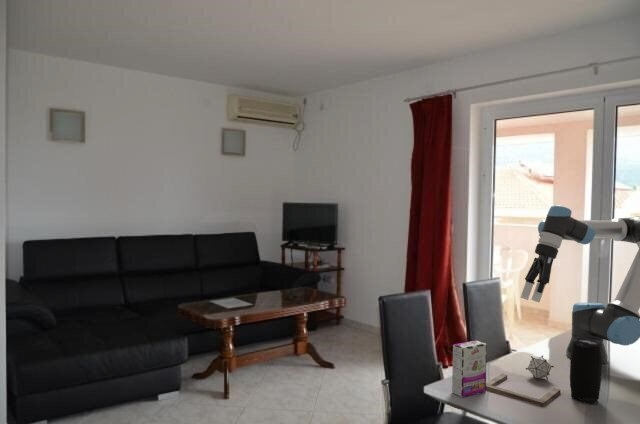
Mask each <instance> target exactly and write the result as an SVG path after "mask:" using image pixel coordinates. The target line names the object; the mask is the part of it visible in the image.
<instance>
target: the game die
mask: <svg viewBox="0 0 640 424" xmlns="http://www.w3.org/2000/svg"><path fill="white" fill-rule="evenodd" d="M530 358H531V359H530V361H529V365H528V366H527V367H525V370H528V371H529V372H530V373H531V374H532V376H533V377H535V378H536V379H535V380H536V381H538V380H539V379H545V378H546V379H547V380H549V378H548V376H551V374H550V372H551V370H552V368H554V367H555V366H554V365H551V364H550V363H549V362H548V361H547V359H545V358H544V355H543V354H542V355H541V356H540V357H533V356H530Z"/></svg>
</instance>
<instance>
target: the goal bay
mask: <svg viewBox="0 0 640 424" xmlns="http://www.w3.org/2000/svg"><path fill="white" fill-rule="evenodd" d="M507 379H508V375H507V374H504V373H501V374H499V375H497V376H496V377H494V378H492V379H490V380H488V381H486V391H490V392H492V393H497V394H499V395H503V396H507V397H509V398H513V399H516V400H519V401H522V402H526V403H529V404H532V405H535V406H539V407H545V406H546V405H547V404H549V403H550V402H551V401H553V400H554V399H555V398H556V397H558V396H559V395H560V394H561V389H559V388H556V387H554V388H552V389H551V390H549V391H548V392H547V393H545V394H544V395H543V396H541V397H540V398H536V397H532V396H529V395H525V394H522V393H519V392H515V391H512V390H508V389H505V388H502V387H498V386H497V385H499V384H500V383H502V382H504V381H505V380H507Z"/></svg>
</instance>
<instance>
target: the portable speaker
mask: <svg viewBox="0 0 640 424" xmlns="http://www.w3.org/2000/svg"><path fill="white" fill-rule="evenodd" d="M600 345H601V343H600V341H599V340H591V339H587V338H585V337H575V338H574V341H573V345H572V351H571V358H570V364H569V387H570V392H571V393H570V394H571V395H570V397H571V399H578V400H580V401H581V402H582V404H583V403H584V404H586V405H594V404H595V405H596V403H597V402H598V400H599V399H600V394H601V393H600V392H601V385H602V372H603V371H602V368H603V367H602V366H603V364H602V356H601V348H600Z"/></svg>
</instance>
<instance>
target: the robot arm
mask: <svg viewBox="0 0 640 424" xmlns="http://www.w3.org/2000/svg"><path fill="white" fill-rule="evenodd" d="M572 213H573V212H572V210H571V209H570V208H569V207H566V206H564V205H563V206H562V205H558V204H555V205H551V206H550V207H549V210H548V213H547V214H546V217H545V219H543V220H541V221H540V222H539V223H538V226H537V231H538V233H539V235H538V243H537V244H536V246H535V249H534V253H535V254H536V255H538V257H535V258H534V260H533V261H532V264H531V266H530V267H529V270H528V271H527V273H526V275H525V277H524V280H525V284H524V287H523V289H522V292H521V295H520V298H521V299H524V300H526V301H528V300H529V298H530V295H531V293H532V291H533V287H534V285H535V288H534V291H533V294H532V296H531V299H530V300H532V301H534V302H536V303H540V302H541V299H542V296H543V293H544V290H545V287H546V286H547V284H550V279H551V274H552V273H551V272H552V266H553V262H554V260H555V259H556V258H557V255H558V253H559V249H560V248H561V245H562V242H563V240H565V241H573V242H576V243H577V244H581V245H588V244H590V243H591V242H592V241H593V240H594V239H595V240H596V239H597V240H598V239H603V240H604V239H605V240H608V239H609V240H610V239H611V240H612V241H615V242H624V243H631V244H636V246H637V247H638V250H637V252H636V254H635V257H634V258H633V261H632V263H631V264H630V267H629V269H628V271H627V274H626V275H625V277H624V279H623V281H622V283H621V285H620V288H619V290H618V292H617V294H616V296H615V298H614V300H613V301H610V302H608V303H606V304H607V305H606V307H605V304H604V303H598V302H576V303H574V304H573V306H572V311H571V337H570V340H569V343H568V345H567V348H566V352H565V355H566V357H567V358H569V359H571V351H572V345H573V341H574V338H575V337H585V338H587V339H591V340H599V341H600V343H601V345H600V348H601V356H602V365H603V364H607V363H608V359H609V358H608V356H609V355H608V352H607V350H606V346H605V343H604V340H605V341H608V342H610V343H612V344H615V345H621V346H625V347H626V346H629V345H632V344H635V343H636V342H637V341H638V340H639V339H640V311H639V310H640V216H633V217H632V216H631V217H622V218H621V217H619V218H618V217H617V218H613V219H611V220H606V219H605V220H600V219H599V220H592V219H588V220H587V219H576V218H574V217H573V216H572ZM536 279H537V280H536ZM535 280H536V281H535ZM535 283H536V284H535Z"/></svg>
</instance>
